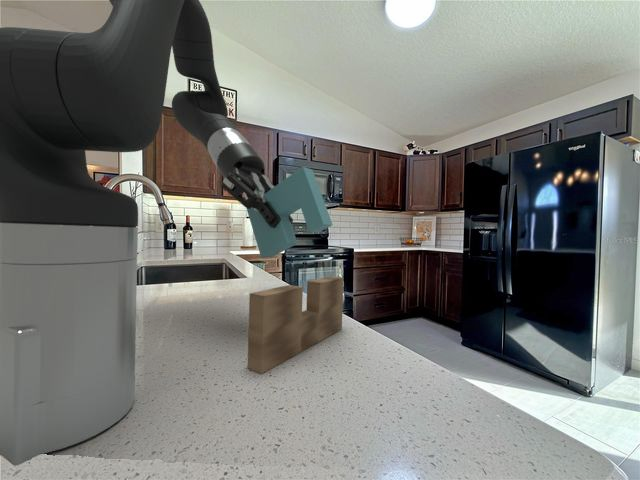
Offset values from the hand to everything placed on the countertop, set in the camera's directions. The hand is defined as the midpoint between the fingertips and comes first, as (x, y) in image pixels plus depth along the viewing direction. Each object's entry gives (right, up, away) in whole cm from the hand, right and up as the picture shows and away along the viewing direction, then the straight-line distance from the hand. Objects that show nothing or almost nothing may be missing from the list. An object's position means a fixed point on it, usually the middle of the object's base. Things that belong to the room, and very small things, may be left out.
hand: (282, 224), depth 44 cm
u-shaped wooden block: (+4, -19, -2) cm, 19 cm away
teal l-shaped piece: (+2, -3, -2) cm, 4 cm away
